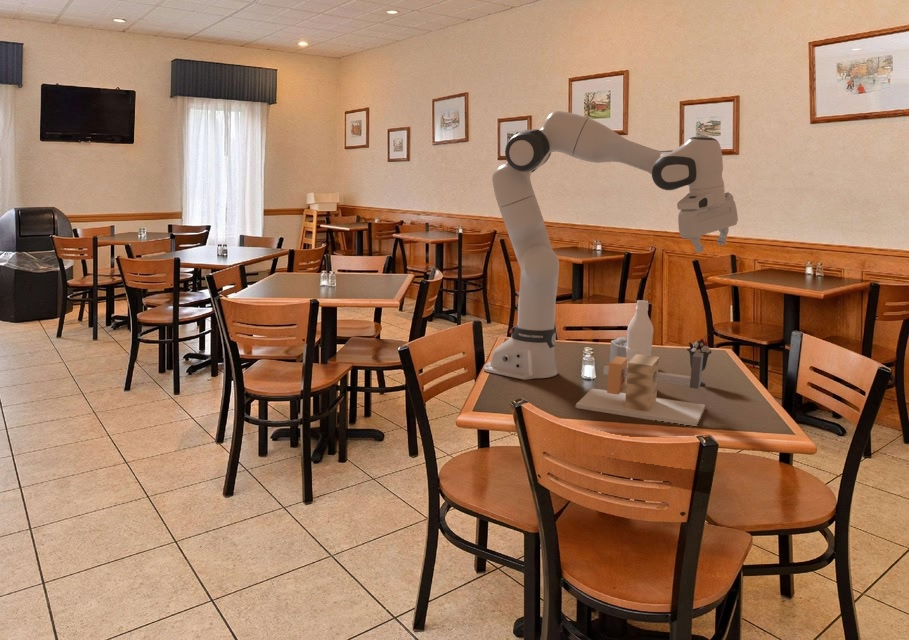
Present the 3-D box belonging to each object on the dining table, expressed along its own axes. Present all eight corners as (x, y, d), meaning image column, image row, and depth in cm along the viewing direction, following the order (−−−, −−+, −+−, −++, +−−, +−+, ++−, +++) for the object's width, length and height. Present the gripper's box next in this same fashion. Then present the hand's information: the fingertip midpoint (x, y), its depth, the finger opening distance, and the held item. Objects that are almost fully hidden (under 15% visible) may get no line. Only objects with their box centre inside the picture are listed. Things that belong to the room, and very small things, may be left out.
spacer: (607, 393, 183) (609, 363, 182) (614, 385, 190) (616, 356, 189) (618, 394, 182) (620, 364, 181) (625, 386, 189) (627, 357, 188)
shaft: (601, 375, 185) (603, 345, 183) (606, 371, 189) (608, 341, 188) (698, 388, 175) (701, 357, 173) (700, 383, 179) (703, 353, 177)
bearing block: (624, 408, 181) (628, 362, 179) (633, 397, 190) (636, 354, 187) (648, 411, 178) (652, 365, 176) (656, 401, 187) (659, 357, 185)
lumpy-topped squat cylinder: (636, 360, 234) (638, 334, 232) (652, 370, 221) (655, 343, 219) (606, 360, 232) (607, 335, 230) (621, 371, 220) (623, 344, 218)
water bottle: (641, 392, 198) (648, 304, 193) (618, 386, 203) (624, 300, 198) (653, 386, 204) (660, 301, 199) (631, 381, 208) (636, 297, 203)
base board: (575, 407, 184) (575, 404, 183) (591, 391, 198) (592, 388, 198) (696, 427, 171) (697, 423, 171) (704, 408, 185) (705, 404, 185)
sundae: (713, 386, 205) (718, 335, 202) (693, 387, 203) (697, 336, 200) (699, 380, 212) (704, 330, 209) (680, 381, 210) (684, 331, 207)
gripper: (722, 191, 198) (725, 240, 201) (672, 204, 188) (676, 255, 191) (742, 190, 193) (744, 240, 196) (691, 204, 183) (695, 256, 186)
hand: (710, 248), depth 194 cm, fingers open, 8 cm apart
